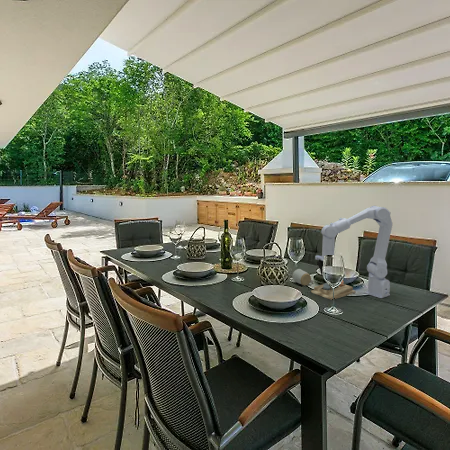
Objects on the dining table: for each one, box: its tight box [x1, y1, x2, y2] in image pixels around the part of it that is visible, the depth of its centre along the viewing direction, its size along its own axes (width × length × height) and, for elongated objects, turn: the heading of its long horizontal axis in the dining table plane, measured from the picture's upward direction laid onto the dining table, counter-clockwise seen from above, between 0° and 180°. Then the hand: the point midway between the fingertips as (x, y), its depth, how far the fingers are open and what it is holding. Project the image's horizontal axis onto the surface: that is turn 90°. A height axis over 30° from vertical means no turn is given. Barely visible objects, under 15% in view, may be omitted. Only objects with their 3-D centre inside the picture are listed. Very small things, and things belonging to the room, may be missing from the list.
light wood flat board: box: [311, 284, 356, 301], centre depth 168 cm, size 13×18×3 cm
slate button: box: [322, 282, 330, 290], centre depth 165 cm, size 3×3×2 cm
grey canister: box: [292, 268, 314, 286], centre depth 182 cm, size 11×8×8 cm
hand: (327, 276), depth 164 cm, fingers open, 5 cm apart
